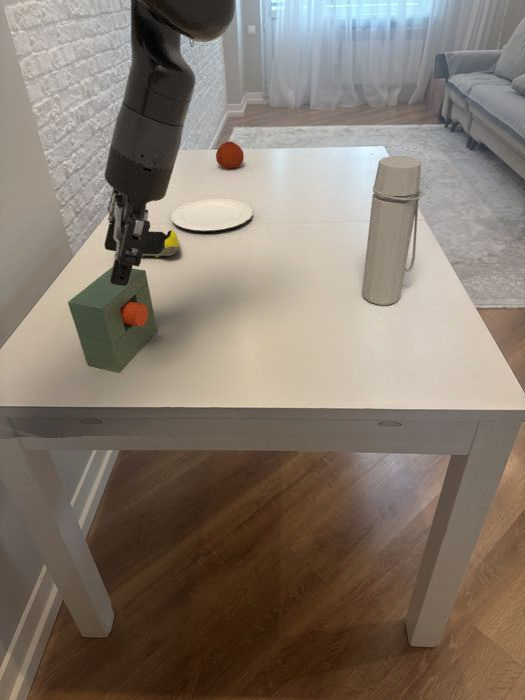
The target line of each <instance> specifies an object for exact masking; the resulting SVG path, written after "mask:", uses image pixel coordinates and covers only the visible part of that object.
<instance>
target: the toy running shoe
mask: <svg viewBox="0 0 525 700" xmlns="http://www.w3.org/2000/svg"><path fill="white" fill-rule="evenodd" d="M179 251H180V243H179V238H178V236H177V233H176V231H175V230H174V229H170V230H168V231H167V233H164V232H163V231H150V230H149V232H148V235H147V239H146V243H145V247H144V250H143V254H142V258H145V257H154V258H159V257H171V256H173V255H175V254H176V253H177V252H179ZM126 252H131V253H132V248H127V250H126Z"/></svg>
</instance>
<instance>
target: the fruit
mask: <svg viewBox="0 0 525 700" xmlns="http://www.w3.org/2000/svg"><path fill="white" fill-rule="evenodd" d="M216 150H217V151H216V153H215V160H216V162H217V163H218V165H219V166H221V167H222V168H224V169H228V170H229V169H230V170H231V169H236V168H238V167H240V166H241V165H242V164H243V162H244V158H245V157H244V151H243V149H242V147H241V146H240V145H239V144H237V143H235V142H234V141H225V142H223V143H222V144H220V145H219V147H218V148H217V149H216Z"/></svg>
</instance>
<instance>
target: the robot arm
mask: <svg viewBox="0 0 525 700" xmlns="http://www.w3.org/2000/svg"><path fill="white" fill-rule="evenodd" d="M235 13H236V0H130V48H131V62H130V63H131V64H130V66H129V71H128V75H127V80H126V84H125V89H124V93H123V97H122V103H121V106H120V109H119V111H118V113H117V117H116V120H115V123H114V129H113V133H112V138H111V141H110V147H109V152H108V156H107V161H106V166H105V170H104V179H105V181H106V182H107V184H108V185H109V186H110V187H111V188H112V192H111V196H110V200H109V204H108V206H107V212H108V217H107V222H108V227H107V230H106V236H105V240H104V249H105V250H106V251H111V252H115V253H114V257H115V258H114V261H113V263H112V264H113V265H112V267H113V268H112V267H111V268H112V272H111V276H110V281H111V283H112V284H115V285H122V286H125V285H127V284H128V281H129V277H130V274H131V270H132V268H133V266H134V267H140V265H141V264H142V258H143V257H142V254H143V250H144V247H145V243H146V239H147V235H148V232H149V231H150V228H151V222H150V220H148V218H149V209H148V208H147V204H148V203H151V202H158V201H160V200H162V199H164V198H165V197H166V194H167V192H168V188H169V184H170V181H171V178H172V174H173V171H174V167H175V164H176V161H177V157H178V154H179V151H180V148H181V147H180V146H181V142H182V136H183V131H184V126H185V122H186V118H187V116H188V112H189V108H190V105H191V102H192V99H193V95H194V91H195V87H196V74H195V72H194V70H193V69H192V67H191V66H190V64H188V62H187V61H186V60H185V58H184V57H183V54H182V50H181V49H182V48H181V41H182V40H181V37H182V36H183V37H185V38H187V39H189V40H191V41H194V42H198V43H208V42H211V41H214V40H216V39H219V38H220V37H221V36H222V35H224V34H225V33H226V32H227V31H228V29H229V28H230V26H231V24H232V22H233V19H234V17H235ZM127 248H132V253H131V252H126V250H127Z"/></svg>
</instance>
